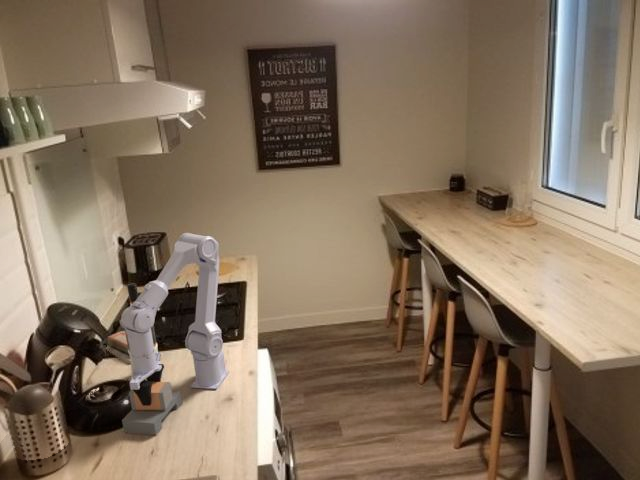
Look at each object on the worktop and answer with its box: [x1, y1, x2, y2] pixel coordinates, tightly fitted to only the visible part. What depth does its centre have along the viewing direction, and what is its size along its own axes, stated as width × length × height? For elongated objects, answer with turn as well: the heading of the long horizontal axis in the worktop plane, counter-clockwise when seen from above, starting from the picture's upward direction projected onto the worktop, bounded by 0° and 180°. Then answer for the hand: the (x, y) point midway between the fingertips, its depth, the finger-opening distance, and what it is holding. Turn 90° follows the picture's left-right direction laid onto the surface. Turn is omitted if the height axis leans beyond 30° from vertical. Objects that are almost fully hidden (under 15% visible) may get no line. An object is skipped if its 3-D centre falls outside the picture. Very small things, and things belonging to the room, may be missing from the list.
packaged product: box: [106, 330, 131, 365], centre depth 174 cm, size 18×5×10 cm
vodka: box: [123, 282, 164, 380], centre depth 153 cm, size 9×9×30 cm
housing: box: [128, 381, 173, 410], centre depth 136 cm, size 9×5×5 cm, turn 84°
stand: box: [121, 390, 184, 436], centre depth 137 cm, size 14×9×4 cm, turn 167°
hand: (151, 398), depth 136 cm, fingers closed on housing, 5 cm apart
